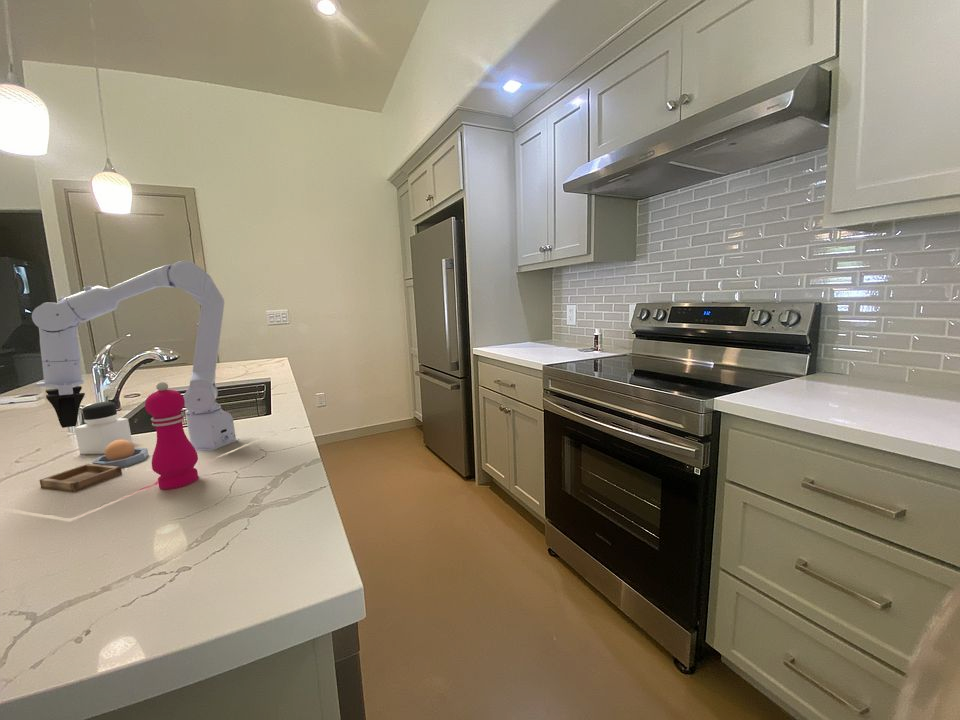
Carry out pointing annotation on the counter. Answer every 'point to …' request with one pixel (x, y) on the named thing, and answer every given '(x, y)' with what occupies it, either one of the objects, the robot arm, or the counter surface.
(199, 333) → the robot arm
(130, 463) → the ramekin
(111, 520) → the counter surface
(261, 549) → the counter surface
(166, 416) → the pepper mill
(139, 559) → the counter surface
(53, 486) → the tray
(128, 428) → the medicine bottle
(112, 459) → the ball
